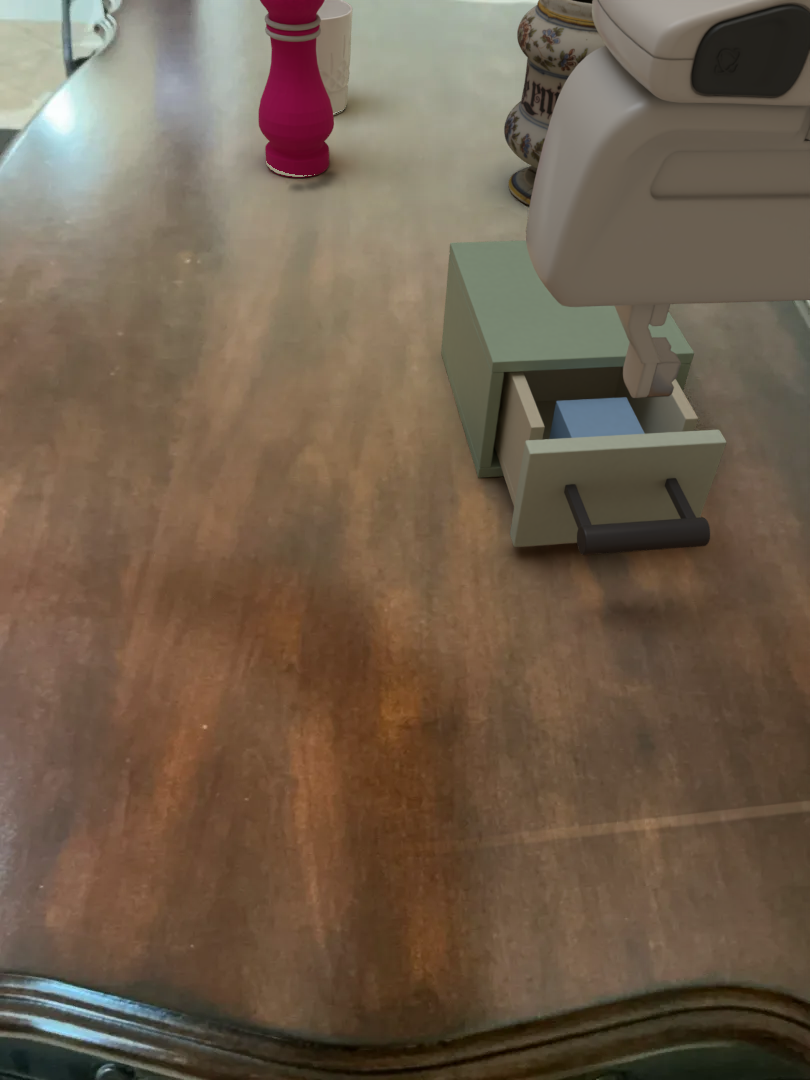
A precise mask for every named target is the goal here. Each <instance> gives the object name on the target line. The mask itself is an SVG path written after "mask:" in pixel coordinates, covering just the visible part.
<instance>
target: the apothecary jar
mask: <svg viewBox="0 0 810 1080" xmlns="http://www.w3.org/2000/svg"><path fill="white" fill-rule="evenodd" d="M592 1H593V0H538V1H537V4H536V5H534V6H533V7H532V8H530V9H529V10H528V11H527V12H526V13H525V14H524V16H522V18H521V20H520V22H519V24H518V26H517V33H516V37H517V43H518V46H519V48H520V50H521V51H522V53H523V54H524V56H525V57H526V59H527V60H526V67H525V69H526V70H525V76H524V83H523V88H522V89H523V90H522V94H521V100H520V101H519V102H518V103H517V104H515V105H514V107H512V109H511V110H510V111H509V113H508V114H507V117H506V119H505V122H504V127H503V133H504V134H503V135H504V139H505V141H506V144H507V146H508V147H509V149H510V150H511V151H512V152H513V153H514V154H515V156H516V157H517V158H519V159H520V160H521V161H523V162H524V163H526V164H527V165H529V166H526V167H524V168H522V169H519V170H516V172H514V173H513V174H512V175H510V178H509V180H508V189H509V191H510V193H511V194H512V196H514V198H516V199H517V200H518V201H520V202H521V203H523V204H524V205H527V206H528V207H530V201H531V196H532V191H533V186H534V181H535V177H536V172H537V168H538V164H539V160H540V156H541V152H542V148H543V144H544V141H545V137H546V134H547V130H548V127H549V124H550V120H551V117H552V114H553V110H554V107H555V104H556V102H557V99H558V97H559V94H560V92H561V90H562V88H563V86H564V84H565V82H566V80H567V79H568V77H569V76H570V74H571V73H572V71H573V70H574V69H575V67H576V66H577V65H578V64H579V63H580V62H581V61H582V60H583V59H584V58H585V57H586V56H588V55H589V54H590V53H592V52H593V51H595V50H597V49H598V48H600V47H602V46H605V43H604V42H603V40H602V39H601V37H600V35H599V33H598V31H597V29H596V27H595V24H594V22H593V18H592Z"/></svg>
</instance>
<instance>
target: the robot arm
mask: <svg viewBox="0 0 810 1080" xmlns="http://www.w3.org/2000/svg"><path fill="white" fill-rule="evenodd" d="M592 18H593V22H594V24H595V27H596V29H597V31H598V33H599V35H600V37H601V39H602V40H603V42H604V43H605V46H602V47H600V48H598V49H597V50H595V51H593V52H592V53H590V54H589V55H588V56H586V57H585V58H584V59H583V60H582V61H581V62H580V63H579V64H578V65H577V66H576V67H575V69H574V70H573V71H572V73H571V74H570V76H569V77H568V79H567V80H566V82H565V84H564V86H563V88H562V90H561V92H560V94H559V97H558V99H557V102H556V104H555V107H554V110H553V114H552V117H551V120H550V124H549V127H548V130H547V134H546V137H545V141H544V144H543V148H542V152H541V156H540V160H539V164H538V168H537V172H536V177H535V181H534V186H533V191H532V196H531V201H530V206H528V207H529V208H528V214H527V219H526V228H525V241H526V244H527V250H528V253H529V256H530V259H531V262H532V264H533V267H534V269H535V271H536V273H537V275H538V277H539V278H540V280H541V281H542V283H543V284H544V286H545V287H546V288H547V290H548V291H549V292H550V294H551V295H552V296H553V297H554V298H555V300H556V301H557V302H558V303H560V304H561V305H563V306H566V307H589V306H615V309H616V311H617V313H618V316H619V318H620V321H621V323H622V326H623V328H624V331H625V333H626V336H627V338H628V340H629V346H628V350H627V354H626V358H625V362H624V366H623V379H624V383H625V385H626V387H627V389H628V391H629V393H630V395H631V397H633V398H642V397H645V398H649V397H666V396H670V395H671V394H672V392H673V389H674V386H673V384H672V382H673V381H674V380H675V379H676V378H677V376H678V372H679V369H680V365H681V362H680V360H679V358H678V357H677V355H676V353H674V352H672V351H671V347H672V346H671V345H670V343H669V342H668V340H667V338H666V337H652V336H651V333H650V330H649V328H648V327H649V324H650V325H651V326H662V325H663V324H665V321H666V318H667V314H668V311H669V310H670V307H671V305H686V304H687V305H690V304H725V303H726V304H727V303H757V302H759V303H761V302H762V303H763V302H793V301H794V302H795V301H797V302H799V301H810V0H593V1H592Z"/></svg>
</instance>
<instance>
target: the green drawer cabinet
mask: <svg viewBox="0 0 810 1080" xmlns="http://www.w3.org/2000/svg"><path fill="white" fill-rule="evenodd" d="M447 263H448V265H447V278H446V286H445V287H446V288H445V289H446V290H445V300H444V311H443V312H444V313H443V325H442V334H441V335H442V336H441V348H440V354H441V357H442V361H443V364H444V367H445V368H444V369H445V371H446V374H447V378H448V382H449V385H450V388H451V391H452V394H453V398H454V401H455V406H456V408H457V411H458V415H459V418H460V421H461V425H462V429H463V431H464V435H465V437H466V442H467V445H468V447H469V452H470V455H471V458H472V461H473V466H474V468H475V472H476V474H477V478H478V479H479V478H481V479H482V478H495V477H504V474H503V471H502V468H501V465H500V462H499V459H498V456H497V453H496V450H495V447H494V441H495V434H496V427H497V420H498V413H499V406H500V398H501V391H502V384H503V377H504V372H516V371H537V370H559V369H580V368H601V367H623V366H624V362H625V358H626V354H627V350H628V346H629V340H628V338H627V336H626V333H625V331H624V328H623V326H622V323H621V321H620V318H619V316H618V313H617V311H616V309H615V306H589V307H566V306H563V305H561V304H560V303H558V302H557V301H556V300H555V298H554V297H553V296H552V295H551V294H550V292H549V291H548V290H547V288H546V287H545V286H544V284H543V283H542V281H541V280H540V278H539V277H538V275H537V273H536V271H535V269H534V267H533V264H532V262H531V259H530V256H529V253H528V250H527V244H526V240H499V241H497V240H496V241H495V240H494V241H463V242H462V241H461V242H460V241H459V242H458V241H457V242H450V243H449V254H448V262H447ZM648 328H649V330H650V333H651V336H652V337H666V338H667V340H668V342H669V343H670V345H671V346H672V347H671V351H672V352H674V353H676V355H677V357H678V358H679V360H680V362H681V365H680V369H679V372H678V376H677V378H676V380H677V382H678V384H679V386H680V387H681V389H682V391H683V392H684V390H685V386H686V383H687V379H688V376H689V373H690V369H691V366H692V362H693V359H694V355H695V351H694V350H693V348H692V346H691V345H690V343H689V342H688V340H687V339H686V336H685V335H684V333H683V332H682V330H681V329H680V327H679V325H678V324H677V322H676V320H675V319H674V317H673V316H672V313H670V312H669V311H668V314H667V318H666V321H665V324H663V325H662V326H651V325H650V324H649V327H648Z"/></svg>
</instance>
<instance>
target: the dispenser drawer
mask: <svg viewBox="0 0 810 1080" xmlns="http://www.w3.org/2000/svg"><path fill="white" fill-rule="evenodd" d="M672 384H673V386H674V389H673V392H672V394H671V395H670V396H666V397H649V398H645V397H642V398H633V397H631V395H630V393H629V391H628V389H627V387H626V385H625V383H624V379H623V367H601V368H580V369H559V370H537V371H516V372H504V377H503V384H502V391H501V398H500V406H499V413H498V420H497V427H496V434H495V441H494V447H495V450H496V453H497V456H498V459H499V462H500V465H501V468H502V471H503V474H504V476H503V477H504V480H505V483H506V486H507V487H506V488H507V489H508V492H509V496H510V499H511V502H512V505H513V511H512V512H513V513H512V519H511V525H510V531H509V536H510V539H511V543H512V546H513V547H514V548H522V547H523V548H524V547H535V546H537V547H538V546H550V545H563V544H577V549H578V551H579V554H581V555H582V556H592V555H603V554H605V555H606V554H619V553H630V552H632V553H633V552H644V551H660V550H675V549H686V548H701V547H702V548H703V547H706V546H708V545H709V542H710V539H711V529H710V528H711V527H710V524H709V522H708V520H707V519H706V517H703V516H702V513H703V510H704V507H705V504H706V502H707V499H708V497H709V493H710V491H711V487H712V485H713V482H714V479H715V476H716V473H717V470H718V468H719V465H720V462H721V459H722V457H723V453H724V451H725V449H726V445H727V440H726V439H725V437H724V435H723V434H722V432H721V430H720V429H704V430H696V427H697V424H698V422H699V417H698V415H697V413H696V411H695V410H694V408H693V407H692V404H691V403H690V402H689V400H688V398H687V396H686V394H685V393H684V390H683V391H682V389H681V387H680V386H679V384H678V382H677V380H676V379H675V380H674V381H673V382H672ZM622 397H626V398H627V400H628V402H629V404H630V405H631V407H632V409H633V411H634V413H635V415H636V417H637V419H638V421H639V423H640V425H641V427H642V429H643V431H644V433H645V434H631V435H613V436H595V437H578V438H560V439H549V437H550V432H551V427H552V421H553V416H554V411H555V405H556V401H563V400H583V399H602V398H622Z"/></svg>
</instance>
